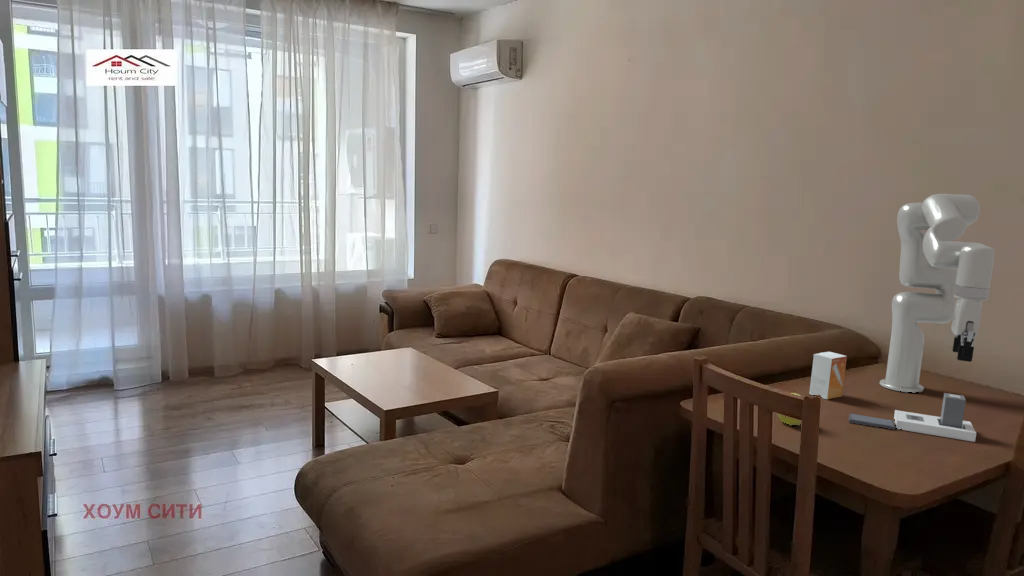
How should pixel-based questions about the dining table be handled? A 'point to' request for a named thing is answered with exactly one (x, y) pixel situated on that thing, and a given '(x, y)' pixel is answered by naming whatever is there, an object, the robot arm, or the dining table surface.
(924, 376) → the dining table surface
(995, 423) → the dining table surface
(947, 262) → the robot arm
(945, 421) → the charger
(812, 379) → the small box
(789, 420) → the apple
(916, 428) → the outlet plate
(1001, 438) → the dining table surface
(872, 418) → the phone
